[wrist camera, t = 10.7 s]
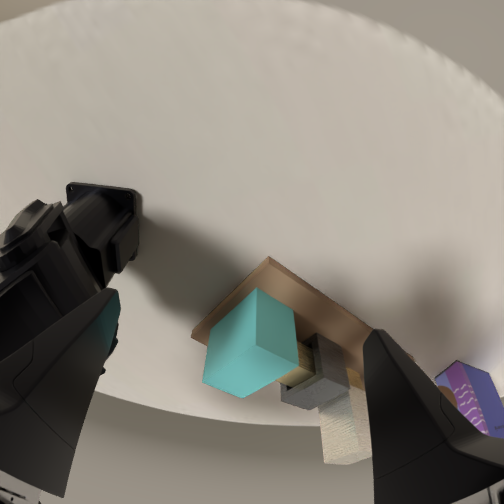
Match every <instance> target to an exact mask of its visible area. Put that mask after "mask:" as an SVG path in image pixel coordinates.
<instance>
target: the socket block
mask: <svg viewBox="0 0 504 504" xmlns="http://www.w3.org/2000/svg"><path fill="white" fill-rule="evenodd" d="M298 366H299V359H298V350H297V340H296V331H295V322H294V313H293V310H292V309H291V308H289V307H288V306H286V305H284V304H283V303H281V302H279V301H278V300H276V299H275V298H273V297H271V296H270V295H268V294H267V293H265V292H263V291H262V290H260V289H258V288H257V287H256V288H255V289H254V290H253V291H252V292H251V293H250V294H249V295H248V296H247V297H246V298H245V299H243V300H242V301H241V302H240V303H239V304H238V305H237V306H236V307H235V308H234V309H233V310H231V311H230V312H229V313H228V314H227V315H226V316H225V317H224V318H223V319H222V320H220V321H219V322H218V323H217V324H216V325H215V326H214V327H213V328H212V329H211V330H210V336H209V342H208V348H207V355H206V361H205V367H204V374H203V380H202V382H203V383H205V384H207V385H210V386H212V387H215V388H217V389H219V390H222V391H224V392H227V393H229V394H232V395H235V396H237V397H240V398H244V397H246V396H248V395H250V394H252V393H254V392H255V391H257V390H259V389H261V388H263V387H264V386H266V385H268V384H270V383H271V382H273V381H275V380H276V379H278V378H280V377H282V376H283V375H285V374H287V373H288V372H290V371H292V370H293V369H295V368H296V367H298Z"/></svg>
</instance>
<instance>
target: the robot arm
mask: <svg viewBox="0 0 504 504" xmlns="http://www.w3.org/2000/svg"><path fill="white" fill-rule="evenodd" d="M71 187H72V188H73V190H72V189H71ZM66 194H67V204H66V205H64V206H62V203H61V201H59V202H57V203H54V204H49V205H47V204H45V203H43V202H41V201H40V200H38V199H37V200H35V201H33V202H32V203H30V204H29V205H28V206H26V207H25V208H24V209H23V210H22V211H20V212H19V213H18V214H17V215H16V216H15V217H14V219H13V220H12V222H11V223H10V225H9V226H8V227H7V229H6V230H5V231H4V232H3V233H2V234H1V235H0V504H41V503H40V501H39V497H40V493H41V490H43V491H46V492H48V493H51V494H53V495H56V496H59V497H61V498H64V495H65V490H66V486H67V481H68V477H69V473H70V469H71V465H72V461H73V457H74V454H75V449H76V446H77V443H78V439H79V436H80V433H81V429H82V426H83V423H84V420H85V417H86V414H87V410H88V408H89V405H90V402H91V399H92V396H93V393H94V390H95V387H96V385H97V382H98V379H99V376H100V375H102V374H104V373H105V371H106V370H105V368H104V367H103V366H104V363H105V361H106V360H107V359H108V358H109V356H110V355H111V354H112V353H113V351H114V349H115V347H116V345H117V343H118V339H117V338H116V336H117V330H118V325H119V324H118V318H119V315H120V310H121V307H120V300H119V294H118V291H117V290H116V289H112V288H106V287H107V286H108V284H109V282H110V281H111V279H112V277H113V276H114V274H115V273H117V274H120V273H121V272H122V271H123V269H124V267H125V266H126V264H127V262H128V261H133V260H134V259H135V258H136V256H137V246H138V244H139V229H138V217H137V215H136V195H135V192H134V191H133V190H132V189H129V188H121V187H113V186H104V185H96V184H87V183H77V182H71V183H69V184H68V185H67V186H66ZM127 194H130V196H131V198H129V197H128V196H127ZM363 367H364V385H365V393H366V401H367V409H368V417H369V427H370V437H371V448H372V461H373V476H374V504H504V438H498V437H492V436H488V435H486V434H484V433H482V432H481V431H479V430H478V429H477V428H476V427H475V426H474V425H473V424H472V423H471V422H470V421H469V420H468V419H467V418H466V417H465V416H464V415H463V414H462V413H461V412H460V411H459V410H458V409H457V408H456V407H455V406H454V405H453V404H452V403H451V402H450V401H449V400H448V398H447V397H446V396H445V395H444V394H443V393H442V392H440V390H439V388H438V387H437V386H436V385H435V384H434V383H433V382H432V381H431V380H430V378H429V377H428V376H427V375H426V374H425V373H424V372H423V371H422V370H421V369H420V367H419V366H418V365H417V364H416V363H415V362H414V361H413V360H412V359H411V358H410V357H409V356H408V354H407V353H406V352H405V351H404V350H403V349H402V348H401V347H400V346H399V345H398V344H397V343H396V342H395V341H394V340H393V339H392V337H391V336H390V335H389V334H388V333H387V332H386V331H385V330H383V329H373V330H372V331H371V333H370V334H369V336H368V337H367V339H366V340H365V342H364V344H363Z"/></svg>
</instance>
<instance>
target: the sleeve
mask: <svg viewBox="0 0 504 504" xmlns="http://www.w3.org/2000/svg"><path fill="white" fill-rule="evenodd" d="M301 344H303V345H305V346H307V347H309V348H311V349H313V356H314V363H315V370H316V375H314V376H313V377H311V378H309V379H308V380H306V381H304V382H302V383H301V384H299V385H297V386H295V387H290V386H288V385H285V384H283V383H280V384H281V401H282V402H285V403H288V404H291V405H294V406H297V407H300V408H303V409H307V410H311V409H313V408H315V407H317V406H319V405H321V404H323V403H325V402H327V401H329V400H331V399H333V398H335V397H337V396H339V395H340V394H342V393H344V392H346V391H348V390H350V389H351V388H350V384H349V379H348V374H347V369H346V365H345V360H344V356H343V352H342V347H341V346H340V345H338V344H336V343H335V342H333V341H331V340H329V339H328V338H326V337H324V336H322V335H321V334H319V333H317V332H316V333H315V334H313V335H312V336H310V337H309V338H307V339H306V340H305V341H303V342H302V343H301Z"/></svg>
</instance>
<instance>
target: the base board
mask: <svg viewBox="0 0 504 504" xmlns="http://www.w3.org/2000/svg"><path fill="white" fill-rule="evenodd" d="M256 287H257V288H258V289H260V290H262V291H263V292H265V293H267V294H268V295H270V296H271V297H273V298H275V299H276V300H278V301H279V302H281V303H283V304H284V305H286V306H288V307H289V308H291V309H292V310H293V313H294V322H295V331H296V340H297V342H299V343H302V342H303V341H305V340H306V339H307V338H309V337H310V336H312V335H313V334H315V333H316V332H317V333H319V334H321V335H322V336H324V337H326V338H328V339H329V340H331V341H333V342H335V343H336V344H338V345H340V346H341V347H342V352H343V356H344V360H345V365H346V367H348V368H350V369H352V370H354V371H356V372H358V373H359V374H360V378H361V382H362V386H363V391H365V385H364V367H363V344H364V342H365V340H366V339H367V337H368V336H369V334H370V333H371V331H372V330H373V329H372V328H371V327H369V326H368V325H366V324H365V323H364V322H362V321H361V320H359V319H358V318H356V317H355V316H354V315H352V314H351V313H349V312H348V311H346V310H345V309H344V308H342V307H341V306H339V305H338V304H336V303H335V302H334V301H332V300H331V299H329V298H328V297H326V296H325V295H324V294H322V293H321V292H319V291H318V290H316V289H315V288H314V287H312V286H311V285H309V284H308V283H306V282H305V281H304V280H302V279H301V278H299V277H298V276H296V275H295V274H293V273H292V272H291V271H289V270H288V269H286V268H285V267H283V266H282V265H281V264H279V263H278V262H276V261H275V260H273V259H272V258H270V257H269V256H268V257H267V258H266V259H265V260H264V261H263V262H262V263H261V264H260V265H259V266H258V267H257V268H256V269H255V270H254V271H253V272H252V273H251V274H250V275H249V276H248V277H247V278H246V279H245V280H244V281H243V282H242V283H241V284H240V285H239V286H238V287H237V288H236V289H235V290H234V291H233V292H232V293H231V294H230V295H229V296H227V297H226V298H225V299H224V300H223V301H222V302H221V303H220V304H219V305H218V306H217V307H216V308H215V309H214V310H213V311H212V312H211V313H210V314H209V315H208V316H207V317H206V318H205V319H204V320H203V321H202V322H201V323H200V324H199V325H197V326H196V327H195V328H194V329H193V330H192V335H191V338H193V339H195V340H196V341H198V342H200V343H202V344H204V345H206V346H208V342H209V336H210V330H211V329H212V328H213V327H214V326H215V325H216V324H217V323H218V322H219V321H220V320H222V319H223V318H224V317H225V316H226V315H227V314H228V313H229V312H230V311H231V310H233V309H234V308H235V307H236V306H237V305H238V304H239V303H240V302H241V301H242V300H243V299H245V298H246V297H247V296H248V295H249V294H250V293H251V292H252V291H253V290H254V289H255V288H256ZM407 354H408V353H407ZM408 356H409V357H410V358H411V359H412V360H413V361H414V359H413V357H412V356H410V355H409V354H408ZM414 362H415V361H414Z"/></svg>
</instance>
